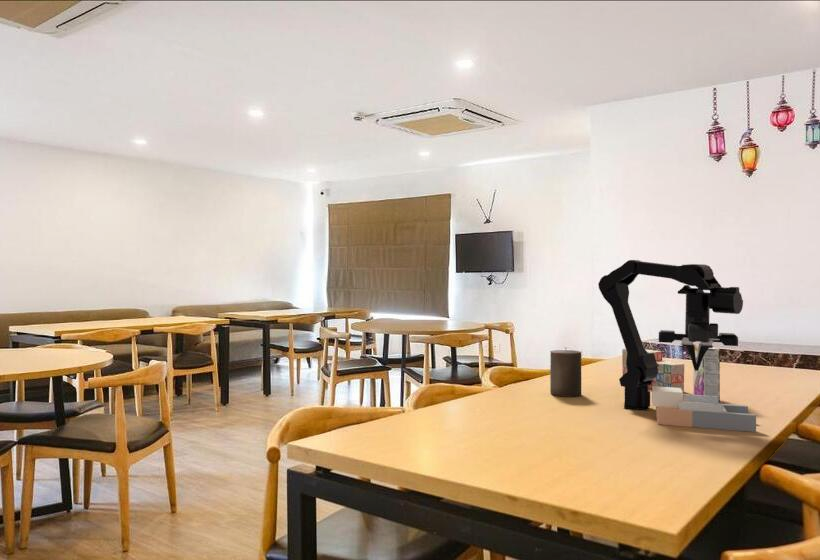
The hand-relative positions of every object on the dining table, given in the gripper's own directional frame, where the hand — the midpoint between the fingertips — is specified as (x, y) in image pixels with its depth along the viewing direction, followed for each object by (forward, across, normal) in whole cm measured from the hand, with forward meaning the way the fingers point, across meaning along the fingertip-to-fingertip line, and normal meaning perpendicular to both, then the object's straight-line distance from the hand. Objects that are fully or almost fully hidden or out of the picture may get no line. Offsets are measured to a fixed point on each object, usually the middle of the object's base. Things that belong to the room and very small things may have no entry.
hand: (696, 370), depth 159 cm
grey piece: (+13, +2, -4) cm, 14 cm away
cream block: (+9, -7, -5) cm, 12 cm away
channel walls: (+9, 0, -4) cm, 10 cm away
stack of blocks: (+14, -10, +44) cm, 47 cm away
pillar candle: (+14, -36, +21) cm, 44 cm away
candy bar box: (+13, +5, +27) cm, 30 cm away
